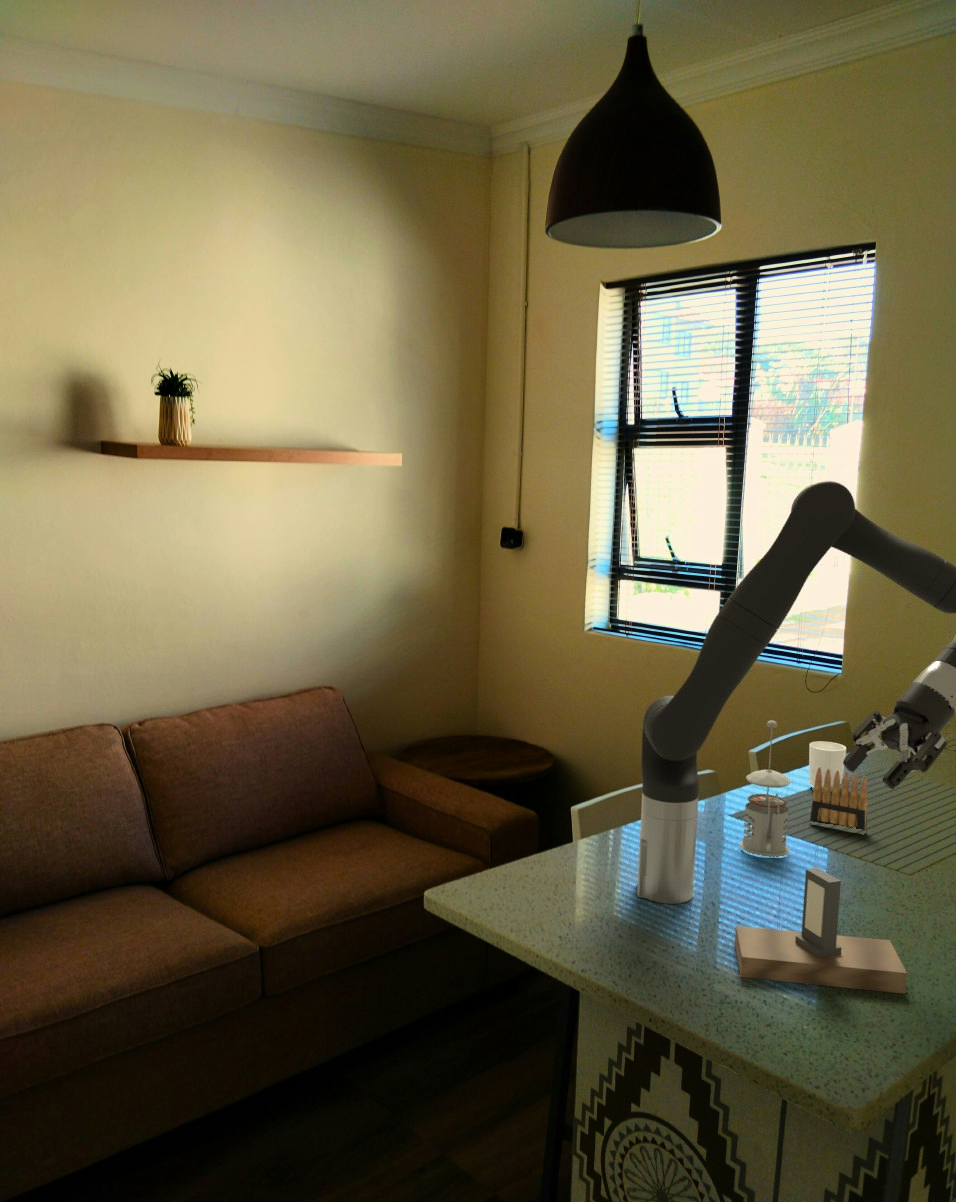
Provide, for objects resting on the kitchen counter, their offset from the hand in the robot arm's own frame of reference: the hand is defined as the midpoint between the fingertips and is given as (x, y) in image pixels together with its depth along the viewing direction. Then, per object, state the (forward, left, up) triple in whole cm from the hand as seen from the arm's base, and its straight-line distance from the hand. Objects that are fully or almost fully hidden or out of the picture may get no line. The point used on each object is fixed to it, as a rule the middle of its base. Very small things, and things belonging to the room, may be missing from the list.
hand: (866, 776), depth 152 cm
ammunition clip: (+7, +52, -26) cm, 58 cm away
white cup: (+9, +79, -26) cm, 83 cm away
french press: (-9, +36, -26) cm, 45 cm away
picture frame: (-7, -10, -23) cm, 26 cm away
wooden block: (-7, -10, -26) cm, 29 cm away
